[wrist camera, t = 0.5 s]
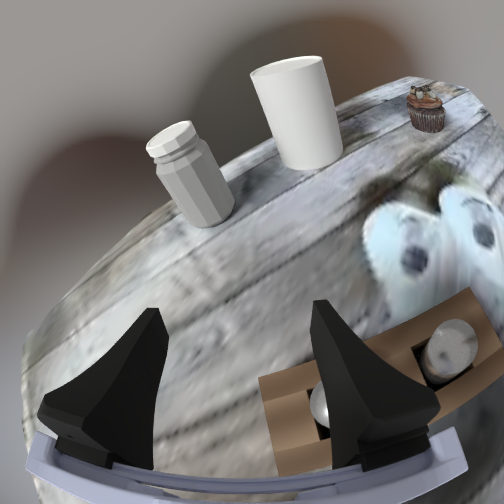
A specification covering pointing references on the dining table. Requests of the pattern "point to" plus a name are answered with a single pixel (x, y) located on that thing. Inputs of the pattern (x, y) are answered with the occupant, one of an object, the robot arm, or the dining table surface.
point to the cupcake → (425, 109)
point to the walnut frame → (394, 353)
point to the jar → (191, 175)
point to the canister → (300, 111)
